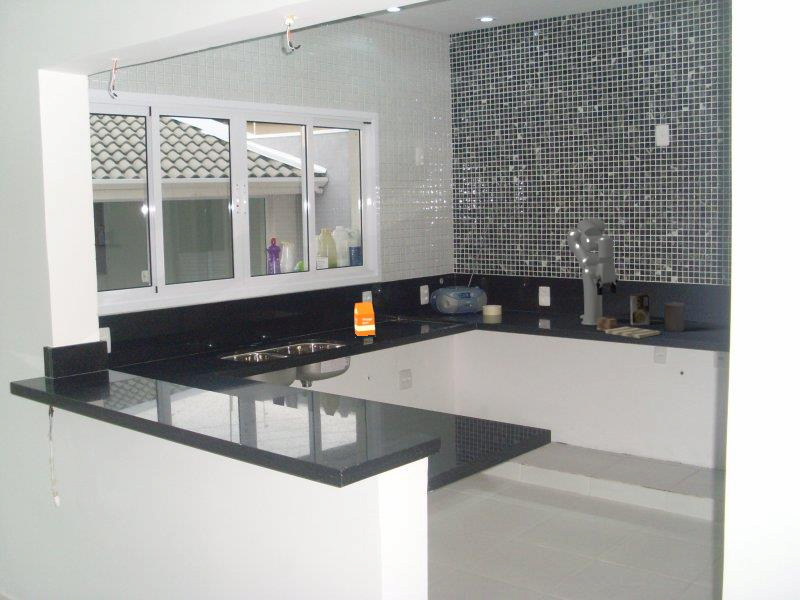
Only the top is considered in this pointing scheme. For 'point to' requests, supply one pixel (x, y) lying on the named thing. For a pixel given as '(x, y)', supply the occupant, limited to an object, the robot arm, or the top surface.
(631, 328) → the pine board
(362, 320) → the orange juice
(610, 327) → the block
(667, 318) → the pillar candle
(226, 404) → the top surface
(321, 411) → the top surface
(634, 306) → the coffee box
